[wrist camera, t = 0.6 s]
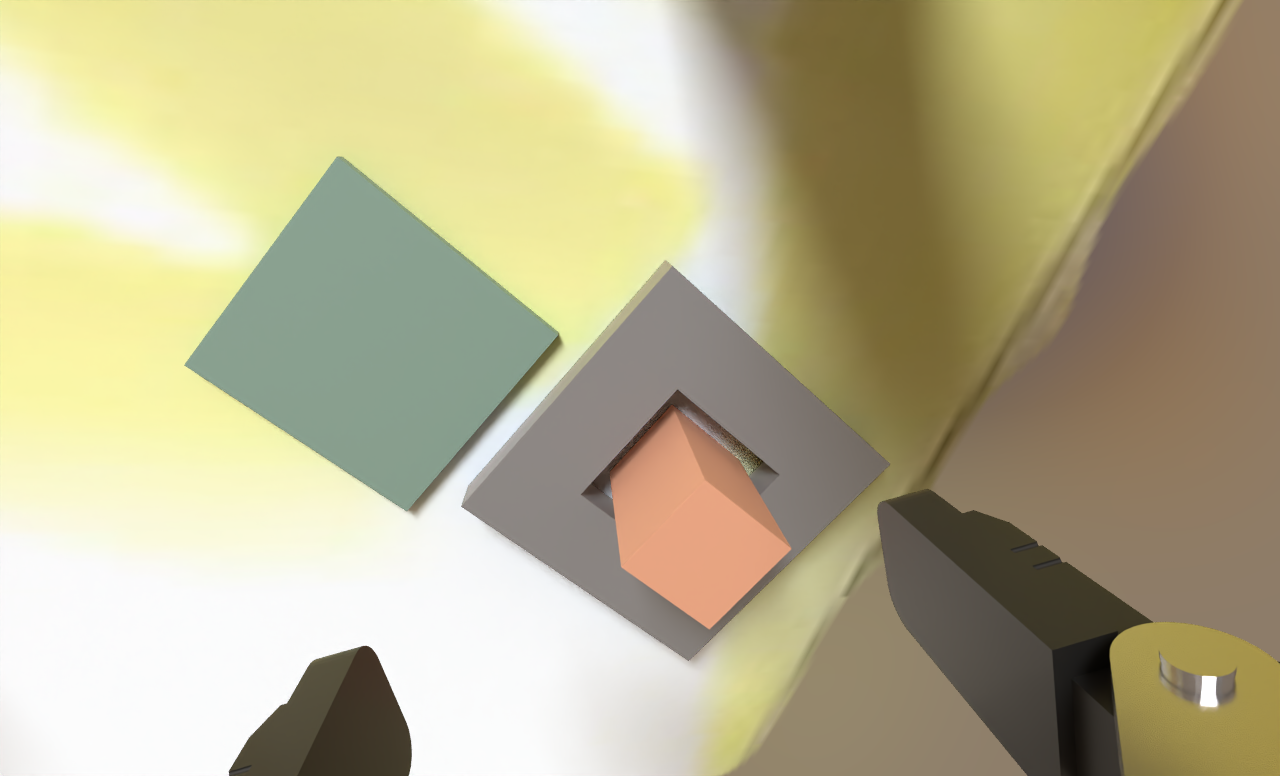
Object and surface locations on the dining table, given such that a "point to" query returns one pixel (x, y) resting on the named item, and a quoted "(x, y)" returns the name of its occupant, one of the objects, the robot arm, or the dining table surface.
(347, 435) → the rubber pad
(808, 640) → the dining table surface
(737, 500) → the terracotta block
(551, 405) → the pocket plate
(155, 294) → the dining table surface
